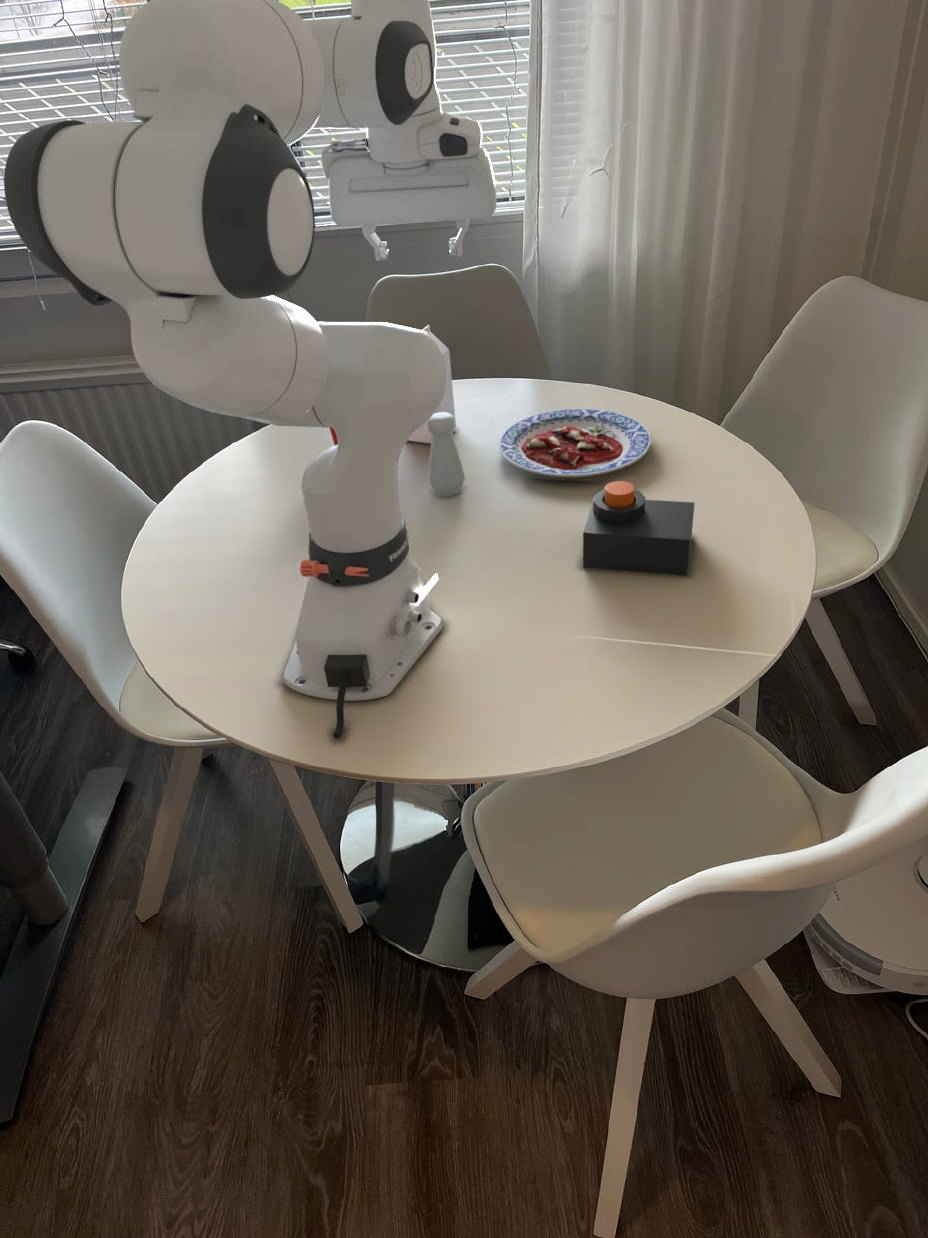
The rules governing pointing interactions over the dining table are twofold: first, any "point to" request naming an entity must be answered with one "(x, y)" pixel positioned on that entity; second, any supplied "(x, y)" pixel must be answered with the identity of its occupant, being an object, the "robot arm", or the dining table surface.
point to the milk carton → (447, 401)
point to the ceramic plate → (575, 442)
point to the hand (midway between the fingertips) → (419, 256)
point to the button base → (639, 536)
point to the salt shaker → (444, 456)
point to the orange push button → (619, 494)
